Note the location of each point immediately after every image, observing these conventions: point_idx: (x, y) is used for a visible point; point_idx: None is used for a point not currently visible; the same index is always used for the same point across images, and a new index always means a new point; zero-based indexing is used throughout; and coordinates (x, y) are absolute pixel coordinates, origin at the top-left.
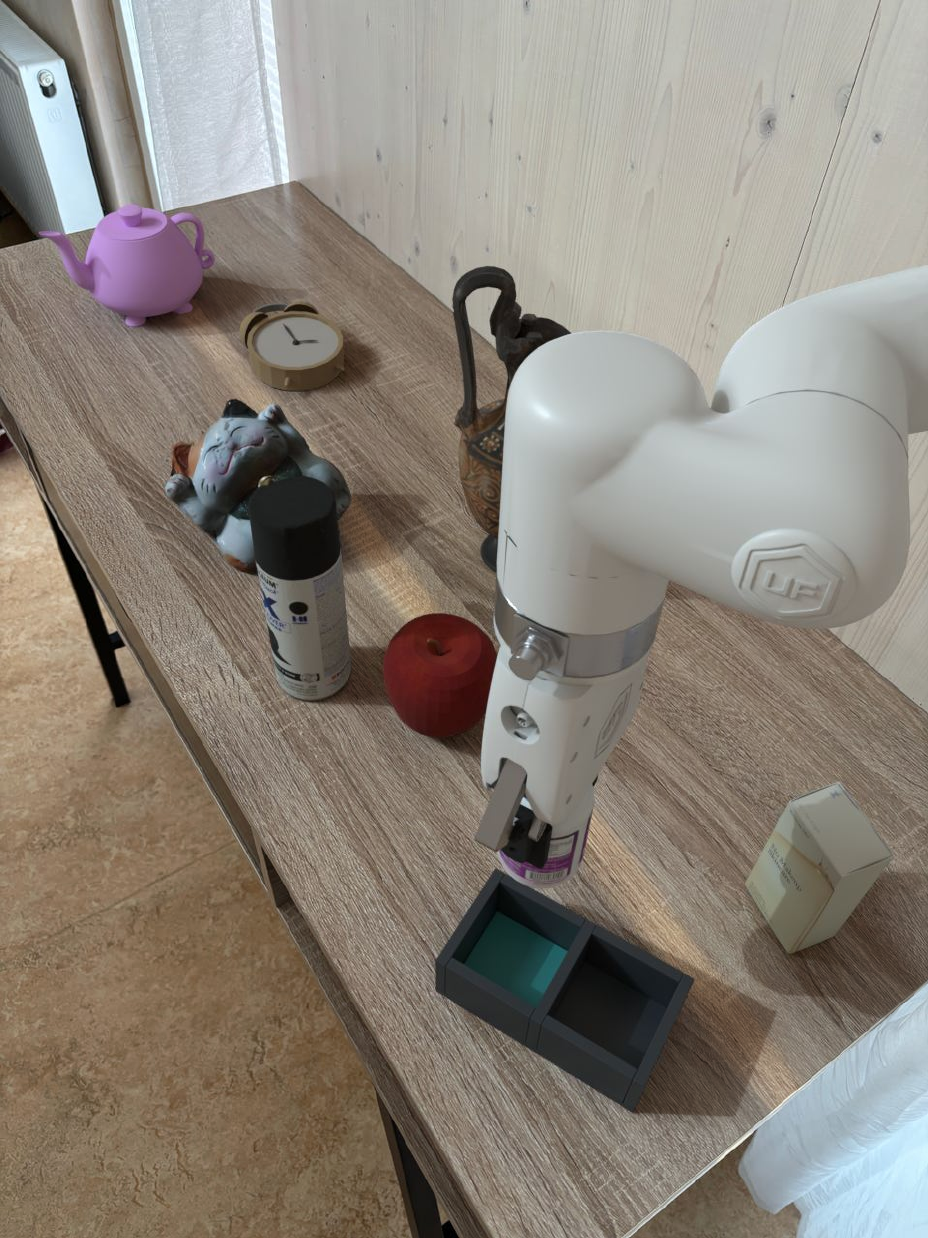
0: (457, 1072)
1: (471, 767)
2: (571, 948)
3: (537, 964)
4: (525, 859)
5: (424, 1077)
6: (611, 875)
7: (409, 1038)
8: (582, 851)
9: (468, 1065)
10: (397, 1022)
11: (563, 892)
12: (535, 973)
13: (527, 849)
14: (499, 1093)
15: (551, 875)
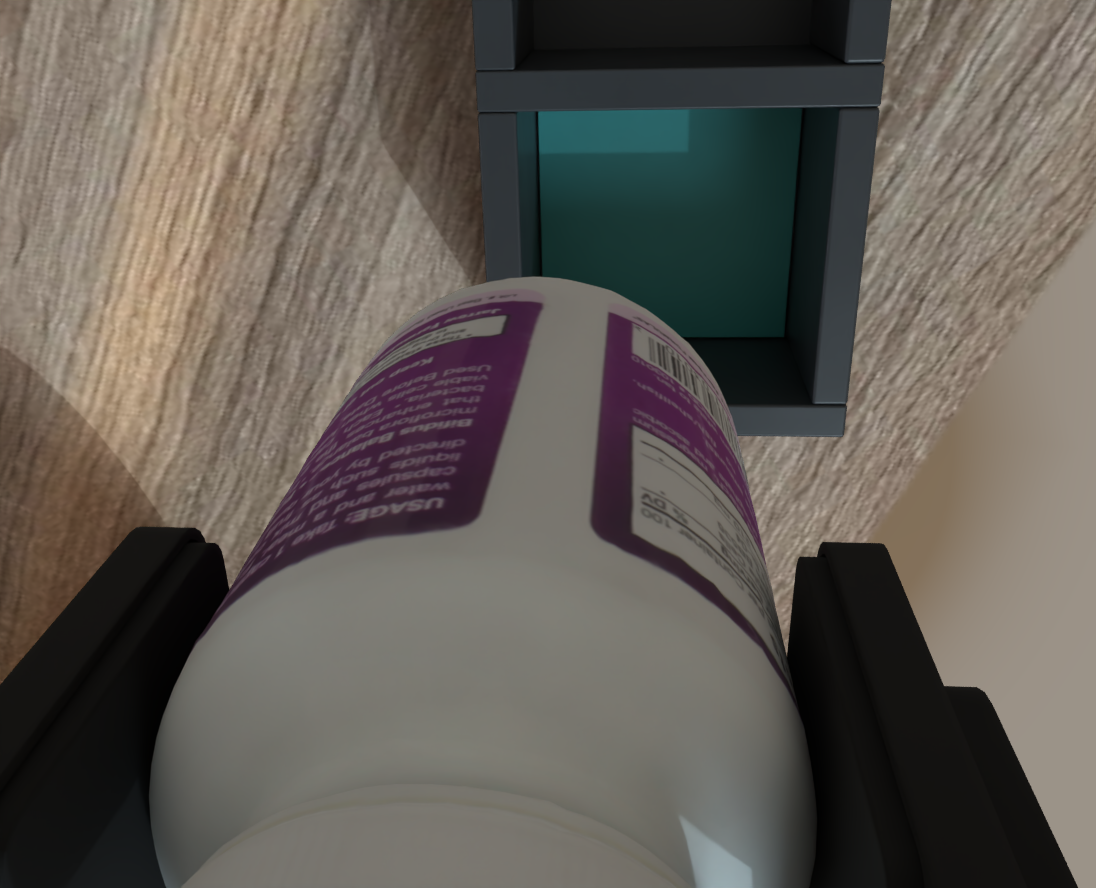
0: (977, 201)
1: (230, 575)
2: (600, 105)
3: (620, 166)
4: (995, 718)
5: (1024, 266)
6: (247, 110)
7: (948, 348)
8: (511, 336)
9: (948, 185)
10: (923, 392)
11: (379, 206)
12: (645, 158)
13: (1030, 812)
14: (983, 73)
15: (703, 398)
